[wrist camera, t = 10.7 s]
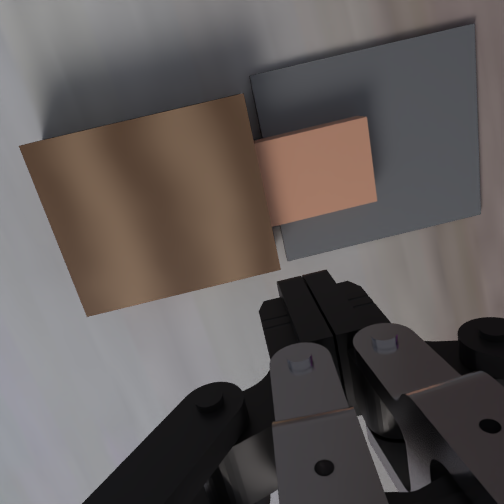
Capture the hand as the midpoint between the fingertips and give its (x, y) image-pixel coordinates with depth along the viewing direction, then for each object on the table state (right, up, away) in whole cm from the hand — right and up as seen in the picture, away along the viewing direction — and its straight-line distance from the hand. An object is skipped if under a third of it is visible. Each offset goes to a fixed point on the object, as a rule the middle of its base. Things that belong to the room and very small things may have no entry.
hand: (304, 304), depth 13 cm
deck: (-8, +5, +19) cm, 22 cm away
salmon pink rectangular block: (+3, +8, +19) cm, 21 cm away
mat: (+7, +9, +20) cm, 23 cm away
